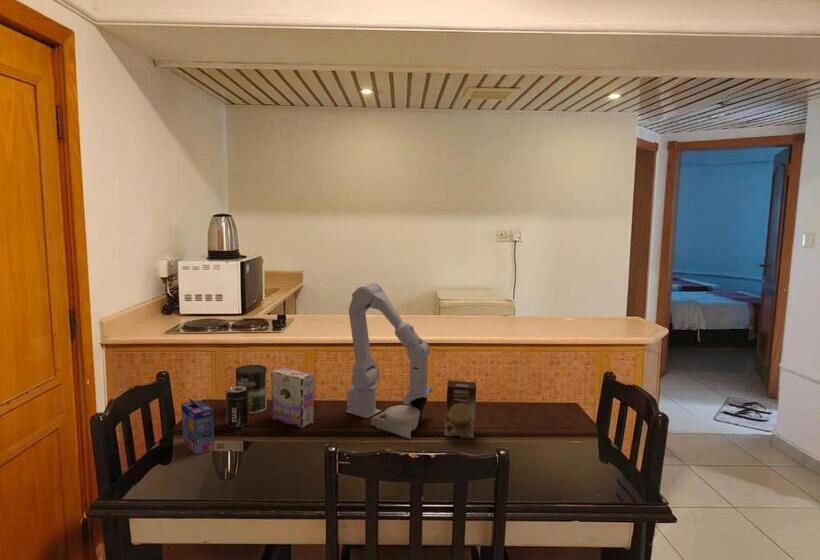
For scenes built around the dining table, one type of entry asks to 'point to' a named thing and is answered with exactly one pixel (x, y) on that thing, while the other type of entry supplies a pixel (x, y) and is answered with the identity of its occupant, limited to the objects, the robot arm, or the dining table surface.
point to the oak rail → (381, 415)
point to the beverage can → (237, 407)
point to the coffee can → (253, 385)
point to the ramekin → (403, 415)
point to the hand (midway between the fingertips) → (417, 418)
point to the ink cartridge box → (197, 426)
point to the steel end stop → (393, 427)
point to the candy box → (292, 397)
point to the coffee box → (460, 409)
